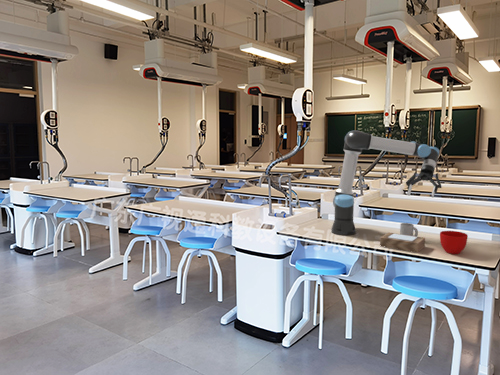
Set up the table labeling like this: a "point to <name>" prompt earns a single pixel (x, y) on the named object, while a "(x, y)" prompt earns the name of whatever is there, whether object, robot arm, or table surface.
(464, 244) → the ceramic cup
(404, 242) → the plinth
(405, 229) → the cup
